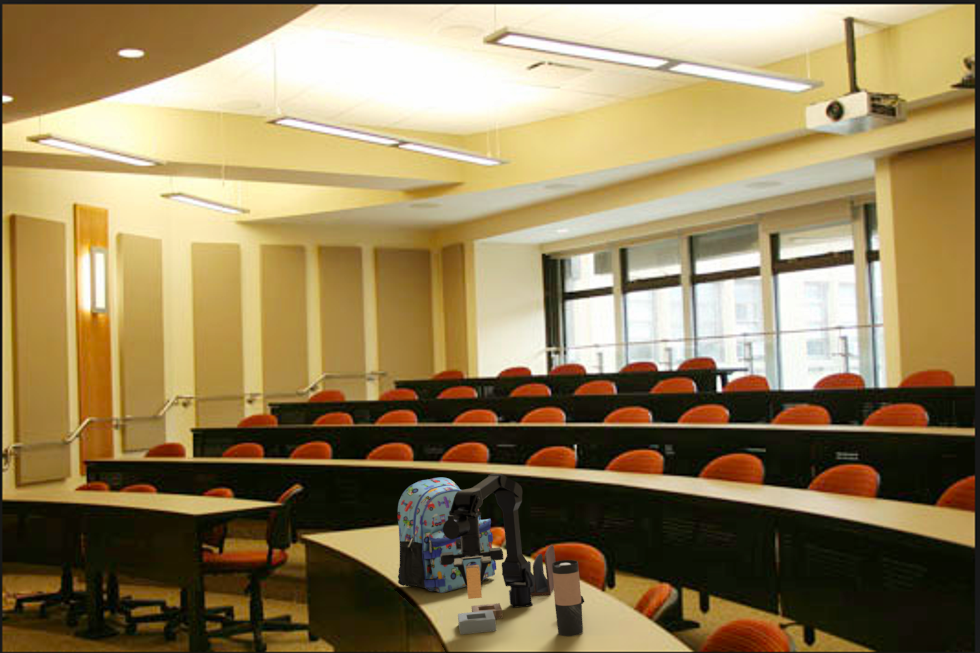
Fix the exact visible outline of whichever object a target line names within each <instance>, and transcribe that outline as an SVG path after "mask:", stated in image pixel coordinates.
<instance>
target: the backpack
mask: <svg viewBox="0 0 980 653" xmlns="http://www.w3.org/2000/svg"><path fill="white" fill-rule="evenodd" d="M461 490H462V489H460V487H459V486H458V485H457V483H455V481H453V480H452V479H450V478H447V477H433V478H430V479H428V478H427V479H422V480H418V481H417V482H415V483H413V484H411V485H409V486H408V487H407V488H406V489H405V490H404V491H403V492H402V494H401V496H400V499H399V500H398V504H397V522H398V524H397V525H398V535H399V536H398V539H399V540H398V541H399V566H398V575H397V578H398V580H397V581H398V582H397V583H398V584H399V585H400V586H403V587H404V586H405V587H417V588H422V589H425V590H426V591H429V592H435V591H436V592H437V593H439V594H440V593H443V594H444V593H449V592H451V591H455V590H459V589H462V588H465V587H466V588H467V586H466V585H465V582H464V579H463V577H462V575H461V573H460V571H459V569H458V567H454V565H453V564H451V565H441V558H440V555H441V553H444V552H453V554H454V555H455V554H462V553H461V550H456V539H461V537H458V538H455V539H449V538H447V537H446V536H445V535H444V532H443V526H444V523H445V522H446V521H447V520H448V516H449V514H450V510H451V507H452V503H453V500H454V497H455V494H456V493H457V492H458V491H461ZM478 511H479V512H480V509H478ZM481 518H482V517H481V515H480V516H478V522H479V535H480V548H481V552H488V551H489V548H493V541H494V538H493V536H494V535H493V532H492V529H491V523H492V520H491V518H487V519H481ZM466 557H468V556H466ZM480 559H481V558H480ZM480 559H470V560H463V564H464V569H465V574H466V567H465V566H470V565H479V567H480ZM490 560H491V564H488V566H487V568H486V571H485V574H484V578H483V581H484V580H485V579H487V578H490V577H493V576H495V574H496V572H495V571H497V562H496V561H497V560H494V561H493V560H492V559H490Z"/></svg>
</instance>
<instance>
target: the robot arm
mask: <svg viewBox="0 0 980 653" xmlns="http://www.w3.org/2000/svg"><path fill="white" fill-rule="evenodd" d="M491 494H493V495H494V496H495V499H496V504H497V505H498V506H499V508H500V509H501V511H502V516H503V527H504V539H505V540H504V541H505V550H506V557H505V559H504V550H503V549H502V548H501V547H492V548H489V551H488V552H481V548H480V535H479V522H478V516H480V517H481V516H482V512H480V509H479V508H481V506H483V504H484V503H483V502H484V501H483V500H484V499H486V498H487V497H489V496H490V495H491ZM522 502H523V488H522V486H521V485H520V484H519V483H518V482H517V481H516V480H513V479H511V478H508V477H507V476H506V474H503V473H490V474H488V476H487V477H486V478H484V479H483V480H482V481H480V482H479V483H477V484H475V485H474V486H473V487H471V488H470V487H469V488H466V489H461V491H458V492H457V493H456V494H455V497H454V500H453V503H452V507H451V510H450V514H449V516H448V520H447V521H446V522H445V523H444V526H443V532H444V535H445V536H446V537H447V538H449V539H455V538H458V537H461V539H456V550H461V553H462V554H455V555H454V554H453V552H444V553H441V555H440V558H441V565H451V564H453V565H454V567H458V569H459V571H460V573H461V575H462V577H463V579H464V582H465V585H466V587H467V579H466V574H465V569H464V564H463V560H470V559H480V558H481V559H480V581H481V586H482V584H483V582H484V580H483V578H484V574H485V571H486V568H487V566H488V564H491V560H490V559H492V560H493V561H494V560H495V561H503V560H504V561H503V562H502V563H501V569H502V570H501V571H502V572H501V575H502V578H503V582H504V585H505V587H509V588H510V589H509V590H508V596H509V597H508V598H509V604H510V605H511V608H520V607H521V608H522V607H531V606H533V602H532V596H531V588H530V587H532V586H534V585H535V577H534V575H533V573H532V570H531V571H530V570H529V566H528V561H527V559H526V558H525V556H524V554H523V551H522V549H523V548H522V540H521V529H520V517H519V508H520V506H521V504H522ZM478 510H479V511H478ZM466 556H468V557H466Z"/></svg>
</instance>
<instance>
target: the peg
mask: <svg viewBox="0 0 980 653" xmlns="http://www.w3.org/2000/svg"><path fill="white" fill-rule="evenodd" d="M465 567H466V579H467V586H466V589H467V590H466V591H467V592H466V593H467V599H468V600H471V599H481V598H483V595H482V585H481V581H480V567H479V565H470V566H465Z"/></svg>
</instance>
